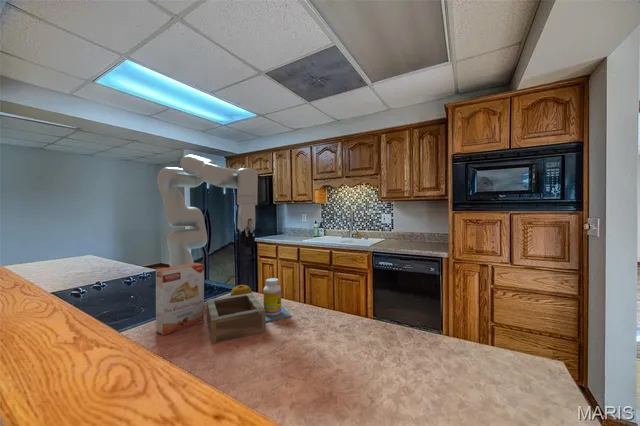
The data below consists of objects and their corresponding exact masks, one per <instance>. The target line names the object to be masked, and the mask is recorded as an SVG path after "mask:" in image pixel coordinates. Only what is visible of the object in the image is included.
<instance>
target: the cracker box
mask: <svg viewBox="0 0 640 426" xmlns="http://www.w3.org/2000/svg"><path fill="white" fill-rule="evenodd" d="M204 321H205V265H204V264H203V263H198V262H193V263H192V264H186V265H180V266H173V267H170V266H169V267H161V268H156V269H155V329H156V332H157V333H159V334H160V335H161V336H165V335H168V334H170V333H171V334H172V333H173V332H177V331H179V330H182V329H185V328H188V327H191V326H194V325H197V324H199V323H202V322H204Z"/></svg>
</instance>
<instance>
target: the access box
mask: <svg viewBox="0 0 640 426" xmlns="http://www.w3.org/2000/svg"><path fill="white" fill-rule="evenodd" d="M206 321H207V326H208V330H209V335H210V341H211V344H216V343H220V342H225V341H228V340H233V339H238V338H242V337H247V336H251V335H255V334H259V333H263V332H266V327H267V326H266V323H267V322H266V320H265V309H264V306H263V305H262V304H261V303H260V301H259V300H258V299H257V298H256V297H255V295H254V294H253V292H252V293H248V294H242V295H235V296H231V295H230V296H225V297H224V296H223V297H216V298H210V299H206Z"/></svg>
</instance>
